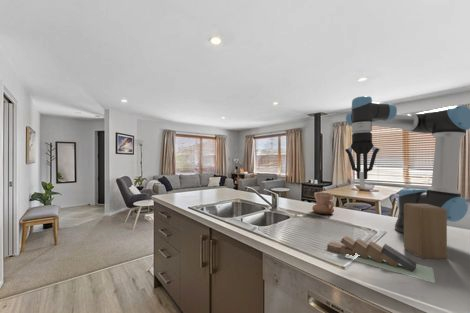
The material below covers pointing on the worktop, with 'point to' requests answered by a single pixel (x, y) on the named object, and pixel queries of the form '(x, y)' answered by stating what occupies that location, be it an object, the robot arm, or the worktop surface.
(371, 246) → the domino
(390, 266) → the mat
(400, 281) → the worktop surface
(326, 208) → the ceramic jug
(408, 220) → the block
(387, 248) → the dark gray domino
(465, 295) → the worktop surface
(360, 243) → the domino
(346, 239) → the domino
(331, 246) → the domino end
